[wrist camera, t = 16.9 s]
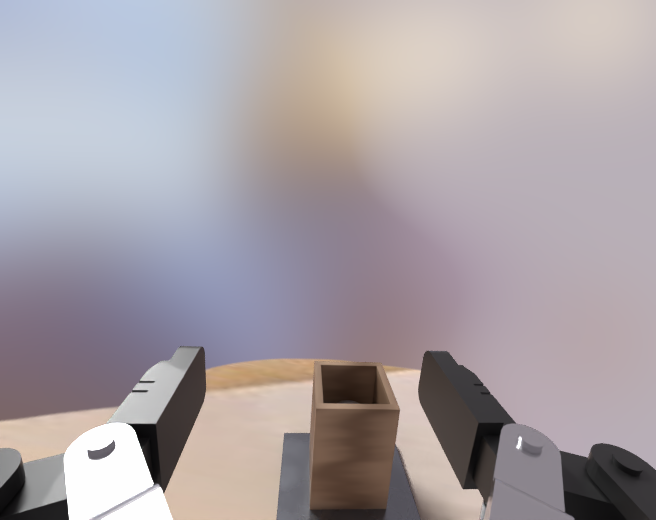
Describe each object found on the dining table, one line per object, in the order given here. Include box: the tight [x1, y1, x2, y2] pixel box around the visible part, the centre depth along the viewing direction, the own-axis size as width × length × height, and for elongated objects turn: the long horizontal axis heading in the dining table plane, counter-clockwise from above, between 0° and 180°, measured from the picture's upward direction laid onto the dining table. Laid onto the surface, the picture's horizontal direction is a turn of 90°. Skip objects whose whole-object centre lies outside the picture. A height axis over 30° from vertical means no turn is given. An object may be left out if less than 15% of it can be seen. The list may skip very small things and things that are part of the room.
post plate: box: [277, 400, 421, 520], centre depth 30 cm, size 12×10×8 cm
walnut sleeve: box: [309, 361, 400, 510], centre depth 29 cm, size 7×7×10 cm
